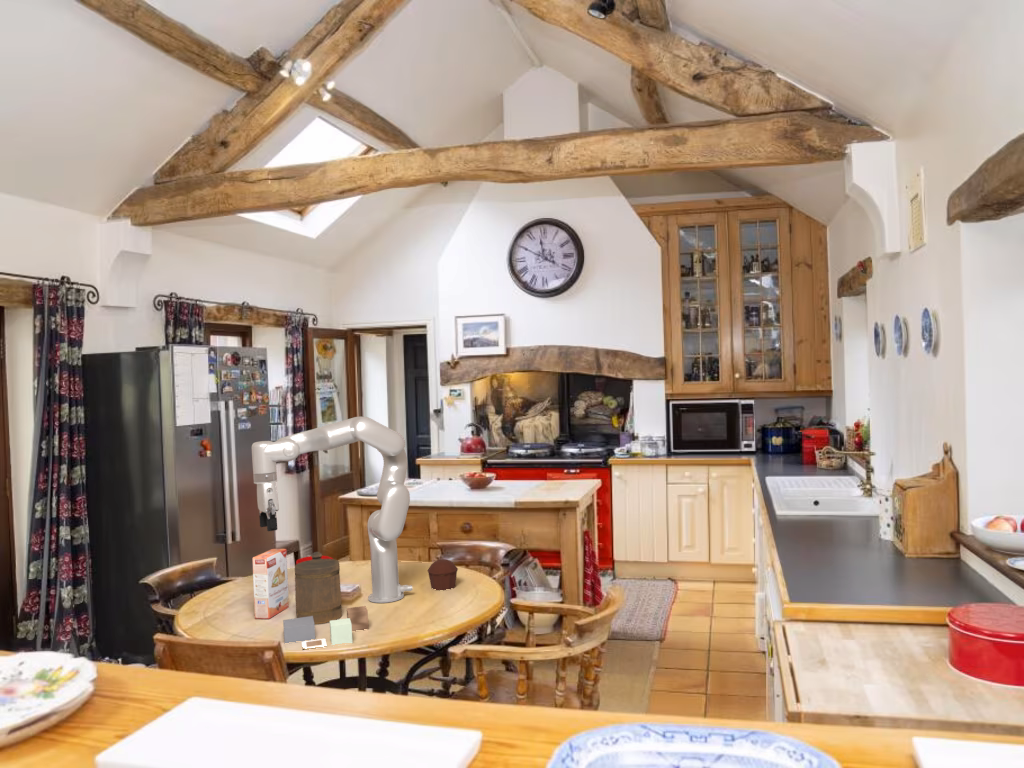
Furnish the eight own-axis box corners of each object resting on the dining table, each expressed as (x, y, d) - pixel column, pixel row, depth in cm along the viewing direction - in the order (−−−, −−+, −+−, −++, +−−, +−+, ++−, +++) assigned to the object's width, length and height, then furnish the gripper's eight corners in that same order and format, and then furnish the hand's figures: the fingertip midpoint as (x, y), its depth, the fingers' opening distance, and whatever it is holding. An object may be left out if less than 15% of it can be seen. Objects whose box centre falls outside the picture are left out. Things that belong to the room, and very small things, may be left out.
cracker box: (270, 619, 264) (267, 557, 264) (254, 619, 265) (250, 557, 265) (290, 607, 278) (287, 547, 278) (274, 606, 279) (271, 548, 279)
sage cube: (350, 637, 242) (349, 618, 242) (352, 643, 236) (351, 623, 236) (330, 640, 240) (329, 620, 240) (332, 646, 234) (330, 626, 234)
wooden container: (349, 611, 269) (346, 547, 269) (329, 625, 255) (326, 557, 254) (309, 610, 272) (306, 547, 272) (288, 624, 258) (284, 557, 258)
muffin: (461, 589, 290) (459, 562, 289) (431, 593, 287) (429, 565, 287) (455, 581, 301) (454, 555, 301) (426, 585, 298) (425, 558, 298)
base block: (313, 631, 250) (312, 616, 250) (315, 640, 241) (314, 624, 241) (284, 635, 247) (283, 619, 247) (284, 644, 239) (283, 628, 238)
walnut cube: (366, 624, 254) (365, 605, 254) (368, 629, 248) (367, 610, 248) (347, 626, 252) (346, 608, 252) (349, 632, 247) (348, 613, 247)
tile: (325, 639, 241) (325, 637, 241) (326, 646, 234) (326, 645, 234) (301, 642, 239) (301, 641, 239) (302, 650, 232) (302, 648, 232)
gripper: (283, 478, 260) (286, 530, 260) (270, 474, 275) (273, 523, 275) (260, 481, 256) (263, 534, 256) (247, 477, 271) (251, 526, 271)
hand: (268, 528), depth 266 cm, fingers open, 9 cm apart
